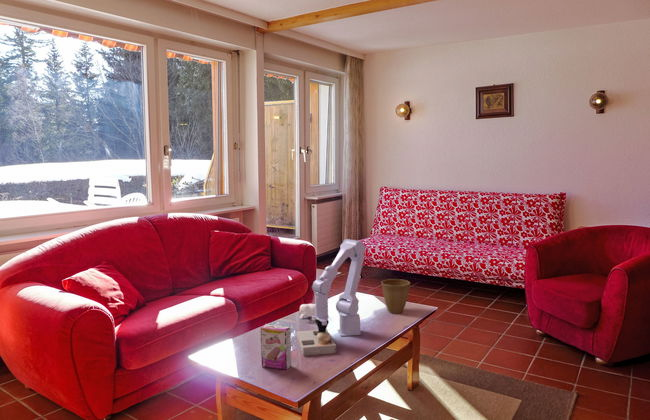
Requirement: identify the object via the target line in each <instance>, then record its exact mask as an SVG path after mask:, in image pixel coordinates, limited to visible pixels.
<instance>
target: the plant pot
mask: <svg viewBox="0 0 650 420" xmlns="http://www.w3.org/2000/svg"><path fill="white" fill-rule="evenodd" d="M410 287H411V282H410V281H408V280H407V279H399V278H389V279H384V280H382V281H381V288H382V289H381V290H382V293H383V299H384V302H385V305H386V307H387V311H388V312H389V314H395V315H396V314H402V313H403V312H404V309H405V306H406V304H407V301H408V296H409V292H410Z"/></svg>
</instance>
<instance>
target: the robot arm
mask: <svg viewBox="0 0 650 420" xmlns="http://www.w3.org/2000/svg"><path fill="white" fill-rule="evenodd" d="M365 252H366V245H365V243H364V242H363V241H362V240H356V239H350V238H345V239H344V240H343V242H342V243H341V244H340V249H339V251H338V253H337V255H336V257H335V258H334V259H333V260H332V261H333V262H332V263H331V265H328V266H326V267H324V270H323V272H322V273H321V274H320V276H319V277H318V278H316V279H315V280H314V281H313V283H312V286H311V289H312V291H313V295H314V304H315V316H313V318H314V319H315V321H314V322H315V323H316V326H317V330H318V331H319V333H320V332H326V329H327V327H328V325H329V324H330V323H329V305H328V304H329V297H328V296H329V292H330V291H331V288H332V287H331V286H332V284H333V281H334V280H335V278H336V277H337V275H338V274H339V273H338V269H339V268H340V267H341V266H342V265H343V263H344V262H345V261H346V260H347V258H349V259H350V260H351V262H350V265H349V271H348V275H347V279H346V283H345V288H344V291H343V293H342V294H340V295H339V297H338V300H337V301H336V304H335V310H336V311H337V312H338V314H339V329H337V332H338V334H339V335H340V336H341V337H347V336H348V337H349V336H358V335H359V336H360V335H362V334H361V316H360V314H359V313H358V312H359V302H360V301H359V299H358V298H357V295H356V294H357V290H358V286H359V282H360V277H361V274H362V269H363V264H364V261H365Z"/></svg>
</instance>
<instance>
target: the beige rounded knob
mask: <svg viewBox="0 0 650 420" xmlns="http://www.w3.org/2000/svg"><path fill="white" fill-rule="evenodd" d="M330 336H331V334H330V332H329V333H327V332H320V333H318V334H317V337H318V343H319V344H328V343H330Z"/></svg>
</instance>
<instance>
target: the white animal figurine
mask: <svg viewBox="0 0 650 420" xmlns="http://www.w3.org/2000/svg"><path fill="white" fill-rule="evenodd" d="M299 313H300V316H299V319H300V320H302V319H304V318H305V316H306V317H308V318H311V321H312V322H316V321H315V320H316V319H314V318H313V316H315V303H306V304H305V303H303V304H301V305H300V306H299Z"/></svg>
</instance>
